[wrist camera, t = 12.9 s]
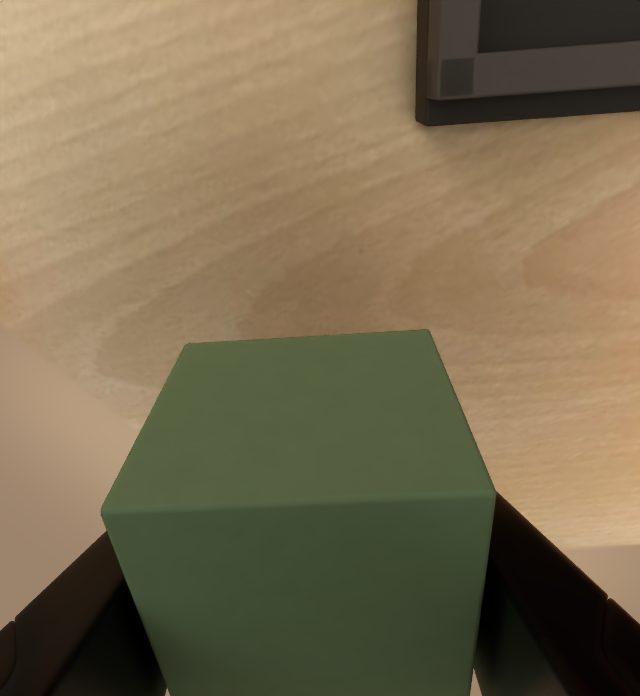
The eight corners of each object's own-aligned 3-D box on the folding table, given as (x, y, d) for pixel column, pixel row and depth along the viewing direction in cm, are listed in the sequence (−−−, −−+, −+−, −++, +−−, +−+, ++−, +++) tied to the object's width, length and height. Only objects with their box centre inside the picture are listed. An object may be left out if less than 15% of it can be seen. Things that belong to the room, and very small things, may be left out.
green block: (227, 535, 11) (185, 740, 8) (183, 341, 9) (96, 511, 6) (422, 527, 11) (467, 732, 8) (430, 327, 9) (499, 493, 5)
